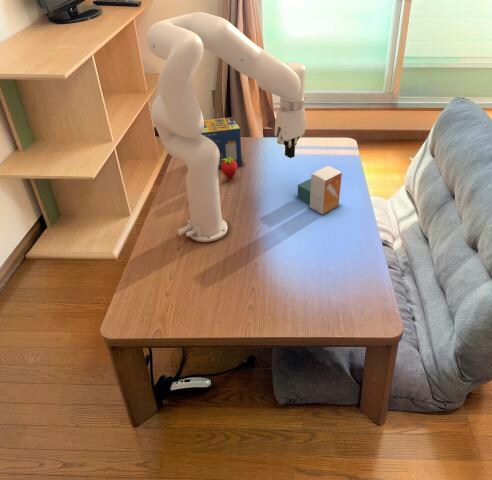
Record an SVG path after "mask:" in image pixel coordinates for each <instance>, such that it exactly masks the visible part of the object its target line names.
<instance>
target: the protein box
mask: <svg viewBox="0 0 492 480" xmlns="http://www.w3.org/2000/svg"><path fill="white" fill-rule="evenodd" d="M236 120H237V119H236V118H235V116H230V117H229V116H228V117H221V118H220V117H219V118H213V119H212V118H211V119H205V120H204V129H203V131H202V133H201V135H203V136H205V137H207V138H209V139H210V140H212V141H213V142H214V143H215V144H216V145H217V147H218V149H219V152H220V160H219V167H218V170H220V169H221V163H222V162H223V161H224V160H221V159H224V158H226V159H228V158H229V157H230V156H231V158H232V159H235V161H236V163H237V167H241V166H243V161H242V141H241V139H242V138H241V137H242V136H241V127H240V126H239V124H238V122H237V121H236ZM228 156H229V157H228Z"/></svg>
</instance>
